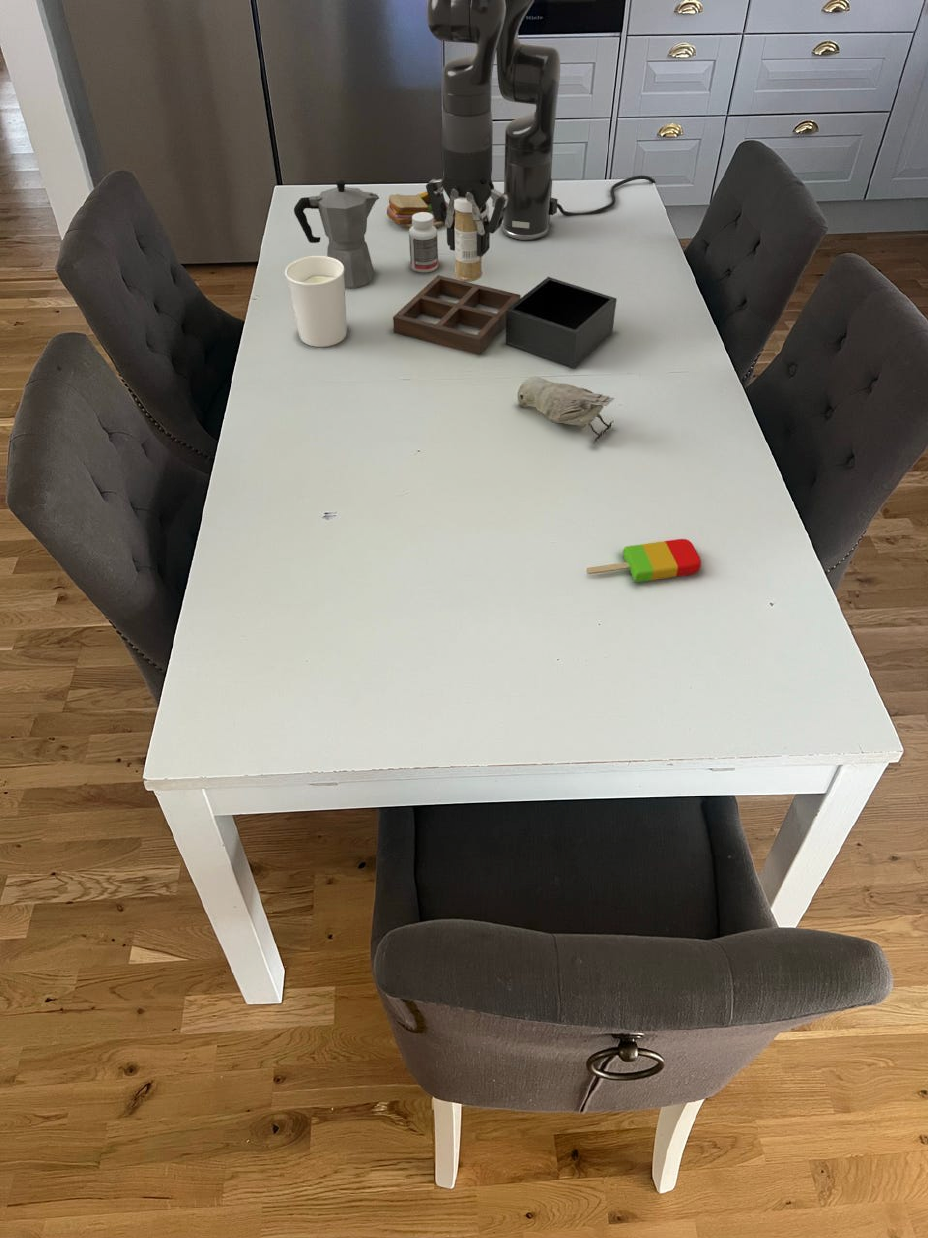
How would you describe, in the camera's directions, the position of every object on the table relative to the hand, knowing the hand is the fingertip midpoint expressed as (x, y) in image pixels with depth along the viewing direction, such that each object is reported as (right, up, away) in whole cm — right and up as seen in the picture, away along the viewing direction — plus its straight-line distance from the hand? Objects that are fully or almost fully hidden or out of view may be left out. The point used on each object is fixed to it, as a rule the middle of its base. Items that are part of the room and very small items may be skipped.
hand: (468, 250), depth 149 cm
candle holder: (-25, -10, +12) cm, 30 cm away
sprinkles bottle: (0, -3, +3) cm, 4 cm away
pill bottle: (-8, +8, +29) cm, 31 cm away
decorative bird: (+15, -29, -6) cm, 33 cm away
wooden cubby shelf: (-2, -7, +15) cm, 16 cm away
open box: (+16, -11, +11) cm, 22 cm away
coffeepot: (-23, +5, +26) cm, 35 cm away
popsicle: (+23, -53, -28) cm, 64 cm away
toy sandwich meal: (-10, +23, +43) cm, 50 cm away
